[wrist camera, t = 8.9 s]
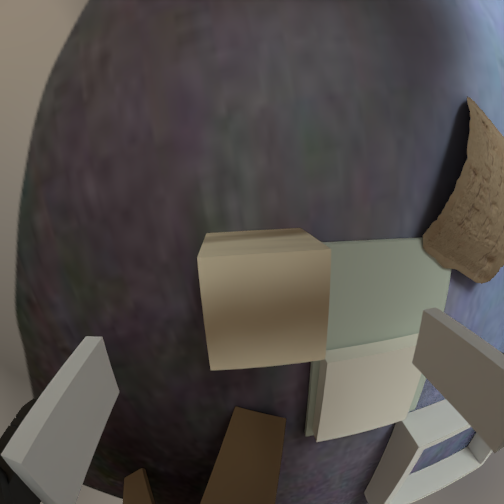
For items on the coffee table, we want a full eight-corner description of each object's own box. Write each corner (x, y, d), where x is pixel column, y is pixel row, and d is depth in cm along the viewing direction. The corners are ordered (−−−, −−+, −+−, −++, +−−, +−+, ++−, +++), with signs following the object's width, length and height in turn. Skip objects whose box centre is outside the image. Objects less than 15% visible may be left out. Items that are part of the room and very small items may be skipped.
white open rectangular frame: (398, 416, 24) (419, 446, 20) (511, 366, 26) (532, 383, 21) (363, 492, 29) (374, 517, 24) (468, 448, 30) (482, 465, 25)
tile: (327, 363, 19) (316, 442, 21) (430, 341, 19) (405, 419, 22) (320, 349, 21) (311, 428, 23) (419, 331, 21) (397, 408, 23)
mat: (315, 242, 19) (318, 244, 19) (450, 235, 20) (455, 237, 19) (304, 432, 24) (305, 436, 23) (412, 405, 24) (414, 409, 24)
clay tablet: (480, 286, 21) (500, 295, 18) (414, 243, 19) (437, 250, 16) (517, 153, 19) (535, 152, 16) (459, 89, 17) (480, 82, 14)
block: (206, 233, 19) (197, 257, 13) (300, 227, 19) (331, 249, 13) (214, 319, 20) (210, 370, 14) (300, 312, 20) (325, 359, 15)
